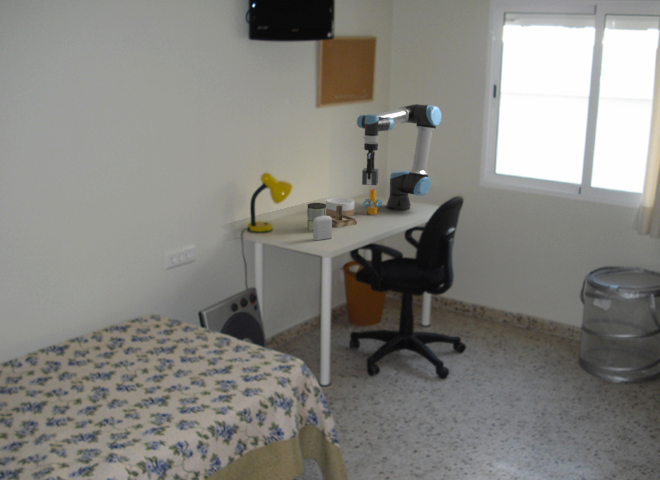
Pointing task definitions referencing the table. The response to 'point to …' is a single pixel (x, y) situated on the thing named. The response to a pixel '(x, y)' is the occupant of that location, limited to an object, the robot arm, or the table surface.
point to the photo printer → (322, 227)
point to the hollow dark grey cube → (374, 176)
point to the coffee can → (315, 213)
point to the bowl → (346, 204)
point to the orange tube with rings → (372, 203)
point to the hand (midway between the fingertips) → (370, 183)
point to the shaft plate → (342, 219)
